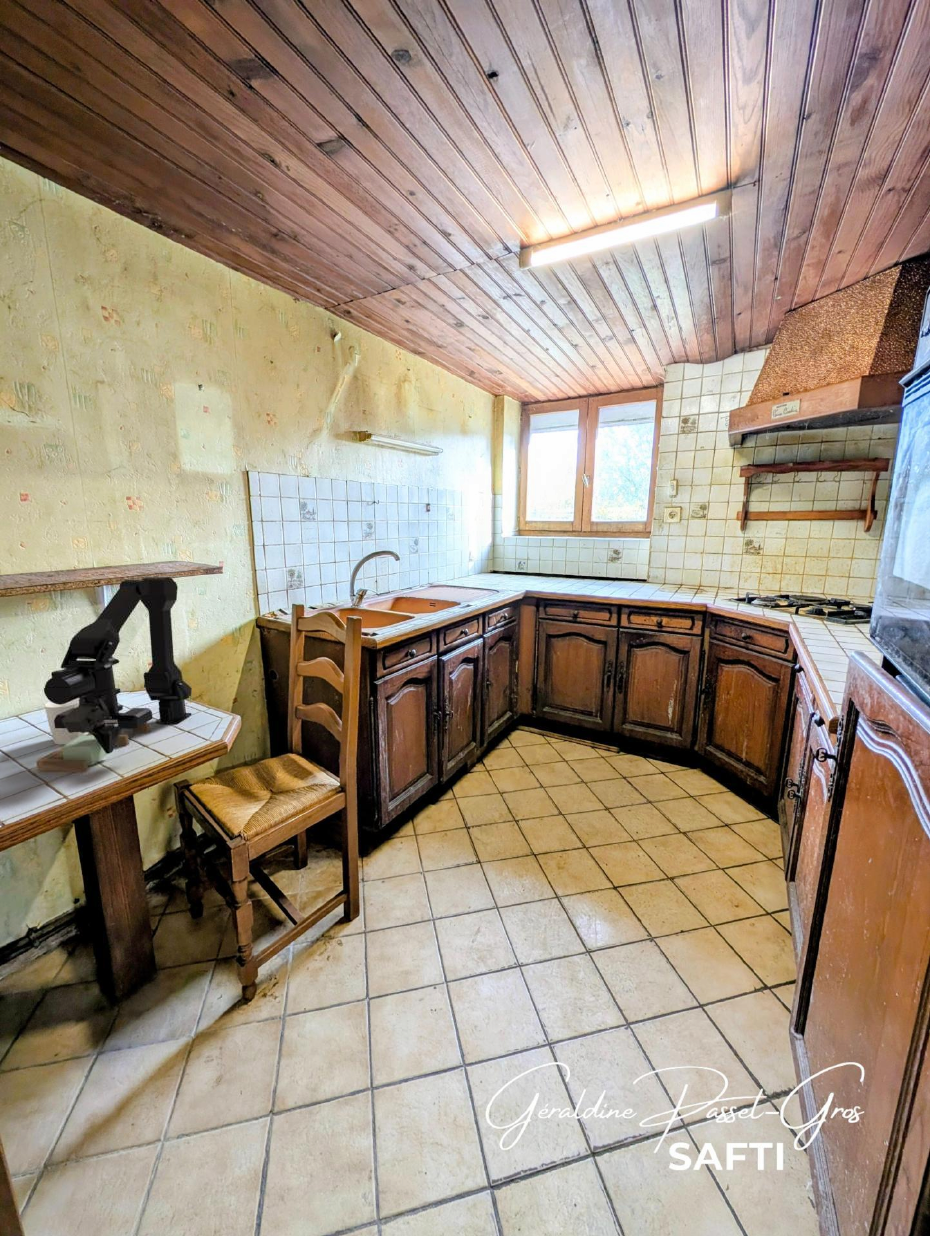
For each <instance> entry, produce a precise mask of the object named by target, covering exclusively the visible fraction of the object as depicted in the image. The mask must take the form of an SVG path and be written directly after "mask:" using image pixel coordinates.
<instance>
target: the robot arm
mask: <svg viewBox="0 0 930 1236" xmlns="http://www.w3.org/2000/svg"><path fill="white" fill-rule="evenodd" d="M178 588H179V587H178V583H177V582H176V581H175V580H174V579H173V578H172V577H170V576H146V577H143V578H141V579H128V578H127V579H124V580H122V581H120V584H119V588H118V590H117V591H116V592H115V594H114V595H112V596H113V597H112V598H111V599H110V601H109V602H108V603H107V604H106V606H105V607H104V609H103V610H102V611H101V613H100V614H99V616H98V617H97V618H96V619H95V620H94V621H93V622H92V623H90V624H88V625H86V626H84V627H82V628H81V629H80V630H79V631H78V632H77V633H76V634H74V636H73V637H72V638H71V640H70V642H69V646H68V649H67V651H66V653H65V655H64V657H63V660H62V662H61V665H60V668H61V669H58V670H54V671H52V672H51V674H50V675H51V678H49V679H48V680H47V681H46V683H45V685H44V687H43V692H44V695H45V697H46V698H47V699H48V701H49V702H50V701H51V702H53V703H55V704H59V705H61V704H65V703H67V702H70V701H72V700H75V699H77V698H80V699H79V706H78V707H77V708H72V709H69V710H67V711H65V712H63V713H60V714H58V715H57V716H56V717H55V719H54V725H55V728H66V729H67V730H68V732H69V733H73V732H81V733H86V732H88V734H89V733H90V734H92V735H93V736H94V737H95V738H96V739H97V741H98V742H99V744H100V745H101V747H102V748H103V750H104V751H105V753H106V754H108V755H110V754H113V752H114V749H115V747H116V746H115V744H116V742H117V739H118V736H119V734H120V732H121V730H122V729H134V728H138V727H139V726H141V725H143V724H145V723H149V722H150V721H152V720H153V718H154V717H153V712H152V710H151V709H150V708H147V707H132V708H131V709H129V710H127V711H126V712H120V711H124V707H123V705H122V704H119V703H118V697H117V695H119V694H121V688H119V687H118V688H117V687H116V681H115V675H114V669H113V667H114V666H115V665H117V664H119V663H120V660H119V659H118V658H115V657H113V656H114V654H115V652H116V650H117V648H118V646H119V643H120V641H121V639H120V634H119V633H120V631H121V629H122V628H123V626H124V625H125V623H126V622H127V620H128V618H129V617H130V616H131V615H132V612H133V611H134V609H136V607H137V605H138V604H139V603H140V602H141V603H142V605H143V606H144V607H145V608H146V610H147V612H148V622H149V623H148V624H149V634H150V635H149V637H150V653H151V666H150V668H149V669H148V671H146V672H145V671H144V673H143V680H144V682H143V683H144V685H143V688H145V692H146V693H147V695H148V698H149V699H150V701H153V702H154V701H158V713H159V714H158V715H159V719H156V720H155V723H154V724H180V723H181V722H182V721H184V720H186V719H187V718H188V717H190V716H192V713H191V712H186V711H187V710H186V700H188V699H190V697H191V696H192V687H191V686H190V685H189V684H188V683H186V682H185V681H184V679H183V675H182V674H183V673H182V670H181V669H180V668H179V667H178V666H177V664H176V663H175V658H174V657H175V656H174V640H173V628H172V612H171V611H172V608H173V606H174V605H175V604H176V602H177V600H178Z"/></svg>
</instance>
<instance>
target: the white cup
mask: <svg viewBox="0 0 930 1236" xmlns="http://www.w3.org/2000/svg"><path fill="white" fill-rule="evenodd" d="M79 699H80V698H77V699H75V700H72V701H70V702H67V703H65V704H61V705H59V704H55V703H53V702H51V701H50V700H49V701H48V702H46V703H45V704H44V709H45V714H46V718H47V722H48V726H49V730H50V732H51V736H52V739H53V743H54V744H55V745H58V746H59V745H61V746H62V745H63V746H64V745H66V744H68V743H69V742H71V741H73V740H75V739H76V738H78V737H80V736H85V735H87V734H89V733H88V732H86V733H81V732H73V733H69V732H68V730H67V729H66V728H55V725H54V719H55V717H56V716H57V715H58V714H60V713H63V712H65V711H67V710H69V709H72V708H77V707H78V706H79Z"/></svg>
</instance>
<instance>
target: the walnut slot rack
mask: <svg viewBox="0 0 930 1236" xmlns="http://www.w3.org/2000/svg"><path fill="white" fill-rule="evenodd" d="M150 731H151V729H150V723H149V722H146V723H145V724H143V725H141V726H139V727H138V728H134V729H133V733H134V734H135V733H136V734H137V733H139V734H140V733H141V734H142V733H143V734H144V733H145V734H146V733H147V734H148V733H149V732H150ZM88 735H92V734H90V733H88V734H87V735H85V736H88ZM129 745H130V738H128V735H119V736H118V739H117V742H116V744H115V747H116V746H117V747H119V746H122V747H123V746H125V747H127V746H129ZM35 762H36V767H37V768H36V769H37V771H38V772H56V773H57V772H64V773H65V772H67V773H68V772H71V773H74V772H75V773H77V772H78V773H80V772H81V773H85V772H87V771H88V769H89V768H88V765H87V762H86V760H69V759H63V754H62V748H61V747H60V748H59V749H56V750H54V751H52V752H51V753H48V754H47V755H45V756H44V757H41V758H39V759H38V760H36V761H35Z"/></svg>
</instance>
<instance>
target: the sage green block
mask: <svg viewBox="0 0 930 1236" xmlns="http://www.w3.org/2000/svg"><path fill="white" fill-rule="evenodd" d="M60 748H62V754H63V759H69V760H86V762H87V766H94V764H96V763H98V762H100V761H101V760H103V758H105V757H107V756H108V755H109V754H106V753H105V751H104V750H103V748H102V747H101V745H100V744H99V742H98V741H97V739H96V738H95V737H94V736H93V735H88V736H80V737H78V738H76V739H75V740H73V741H71V742H69V743H68V744H64V745H63V746H61V747H60Z"/></svg>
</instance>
